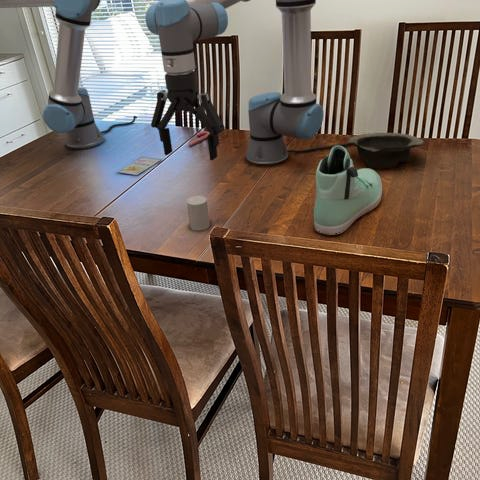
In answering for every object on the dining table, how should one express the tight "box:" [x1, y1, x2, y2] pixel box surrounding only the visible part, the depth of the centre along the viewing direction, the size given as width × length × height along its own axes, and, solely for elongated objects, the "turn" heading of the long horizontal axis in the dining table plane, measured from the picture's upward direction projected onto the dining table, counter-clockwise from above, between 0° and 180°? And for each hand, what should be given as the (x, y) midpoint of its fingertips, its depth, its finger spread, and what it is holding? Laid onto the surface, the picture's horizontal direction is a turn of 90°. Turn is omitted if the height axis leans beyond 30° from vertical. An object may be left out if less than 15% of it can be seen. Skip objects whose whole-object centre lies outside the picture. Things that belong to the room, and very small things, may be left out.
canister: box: [186, 195, 211, 232], centre depth 134 cm, size 6×6×8 cm
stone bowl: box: [347, 132, 426, 170], centre depth 165 cm, size 25×25×9 cm
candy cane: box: [188, 130, 210, 147], centre depth 198 cm, size 6×15×2 cm, turn 145°
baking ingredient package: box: [117, 157, 161, 176], centre depth 177 cm, size 9×1×15 cm
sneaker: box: [313, 146, 383, 236], centre depth 133 cm, size 14×35×20 cm, turn 152°
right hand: (190, 155), depth 125 cm, fingers open, 13 cm apart
